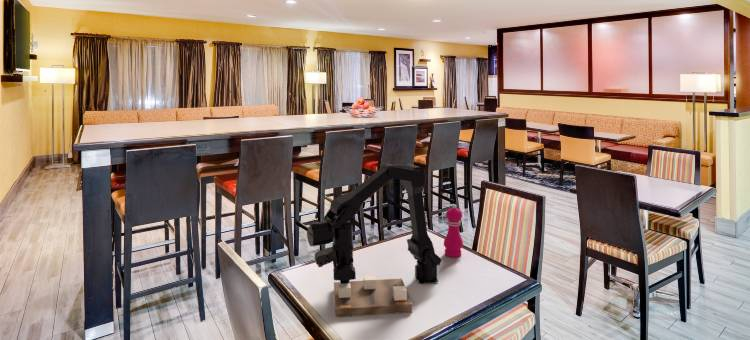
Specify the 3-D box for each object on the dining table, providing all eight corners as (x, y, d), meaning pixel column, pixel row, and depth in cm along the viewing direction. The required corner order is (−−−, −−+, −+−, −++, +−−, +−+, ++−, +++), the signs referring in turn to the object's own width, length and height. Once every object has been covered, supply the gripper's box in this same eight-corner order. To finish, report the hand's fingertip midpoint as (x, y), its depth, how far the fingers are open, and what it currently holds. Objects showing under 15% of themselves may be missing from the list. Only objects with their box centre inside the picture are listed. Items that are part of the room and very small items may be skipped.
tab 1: (350, 292, 132) (350, 283, 131) (351, 297, 129) (350, 287, 129) (338, 293, 132) (338, 283, 131) (338, 298, 129) (338, 288, 128)
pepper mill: (441, 256, 166) (442, 205, 162) (445, 249, 173) (446, 200, 169) (460, 259, 164) (462, 207, 160) (464, 252, 170) (465, 202, 166)
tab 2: (375, 284, 137) (375, 275, 137) (376, 288, 134) (376, 279, 134) (363, 285, 137) (363, 276, 136) (364, 289, 134) (364, 280, 133)
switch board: (401, 285, 143) (401, 278, 142) (412, 312, 126) (412, 304, 126) (334, 289, 140) (333, 281, 140) (335, 317, 124) (335, 308, 123)
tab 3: (404, 295, 130) (405, 285, 130) (406, 300, 127) (406, 290, 127) (392, 295, 130) (392, 286, 129) (394, 300, 127) (394, 291, 126)
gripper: (316, 231, 139) (317, 277, 142) (314, 253, 120) (316, 305, 123) (351, 229, 140) (352, 275, 143) (355, 251, 121) (356, 303, 125)
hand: (344, 289), depth 133 cm, fingers closed
